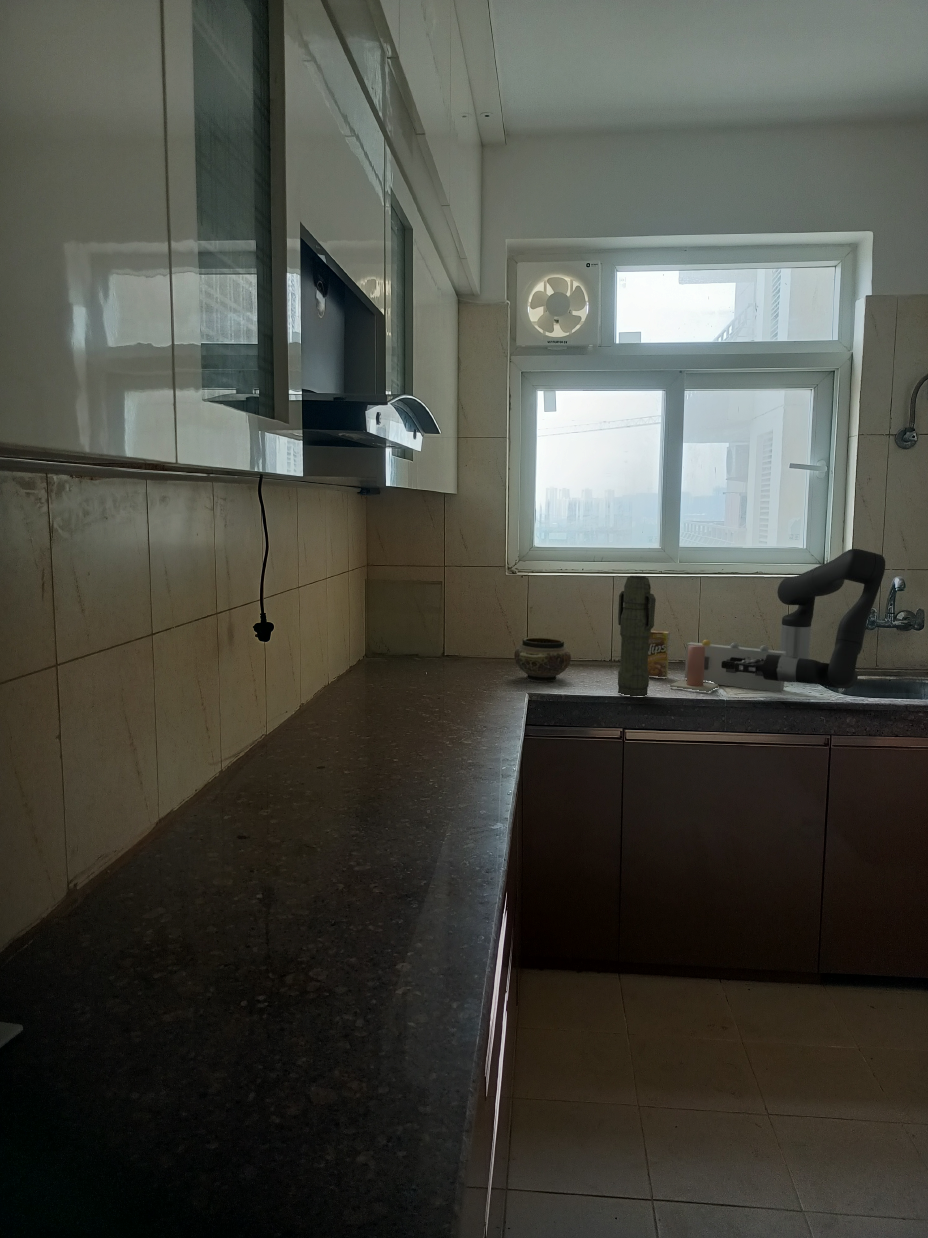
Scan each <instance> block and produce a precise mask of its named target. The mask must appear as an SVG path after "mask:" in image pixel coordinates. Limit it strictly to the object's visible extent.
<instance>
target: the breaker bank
mask: <svg viewBox="0 0 928 1238" xmlns="http://www.w3.org/2000/svg"><path fill="white" fill-rule="evenodd" d="M685 644H686V646H685V663H684V679H685V678H687V662H688V645H701V646H705V660H704V680H707V681H711V682H714V683H715V684H717V685H718V684H719V685H720V686H729V687H736V688H745V689H753V690H761V691H768V692H775V693H777V692H778V693H783V691H784V689H785V682H782V681H773V680H765V679H764V678H763V673H762V672H757V673H754V674H752V673H744V672H735V670H733V669H724V668H722V667H721V665H722V661H730V658H731V657H736V658H745V657H746V658H747V657H752V658H760V659H764V658H765V656H766V655H767V654H771V655H781V656H786V652H784V651H780V650H772V649H771V650H770V649H769V647H768V646H767V645H765V644H763V645H761V646H760V647H759V648H753V647H742V646H740V645H739V643H738V642H736V641H735V642H732V643H731V644H730V645H721V644H712V643H711V641H710V640H709V639H704V640H703V641H702V642H701V643H700V642H694V641H693V642H692V641H691V642H687V643H685ZM739 668H742V666H740V665H739Z"/></svg>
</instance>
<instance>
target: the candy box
mask: <svg viewBox="0 0 928 1238" xmlns="http://www.w3.org/2000/svg"><path fill="white" fill-rule="evenodd" d="M670 634H671V633H670V631H664V630H651V636H650V638H649V646H648V671H649V676H658V677H667V678H668V671H669V670H668V669H669V656H670V654H669V651H670V650H669V649H670Z"/></svg>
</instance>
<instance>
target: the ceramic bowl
mask: <svg viewBox="0 0 928 1238" xmlns="http://www.w3.org/2000/svg"><path fill="white" fill-rule="evenodd" d="M521 642H522V644H520V645H519V646H517V647H516V648H515V651H514V656H513V657H514V660H515V663H516V665H517V667H518V669H519V670H521V671H522V672H523V673H525V674H526V679H527V680H528V681H530V680H531V682H533V681H537V682H536V683H548V682H547V681H553V682H555V681H557V676H559V675H561V674H562V673H563V672H565V671H566V669H568V667H569V665H570V663H571V660H572V656H571V653H570V651H569V649H568V648H566V647H565V641H564V640H563V639H562V640H561V639H558V638H553V637H552V638H551V637H540V636H528V637H523V638H522V641H521ZM554 680H555V681H554Z"/></svg>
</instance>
